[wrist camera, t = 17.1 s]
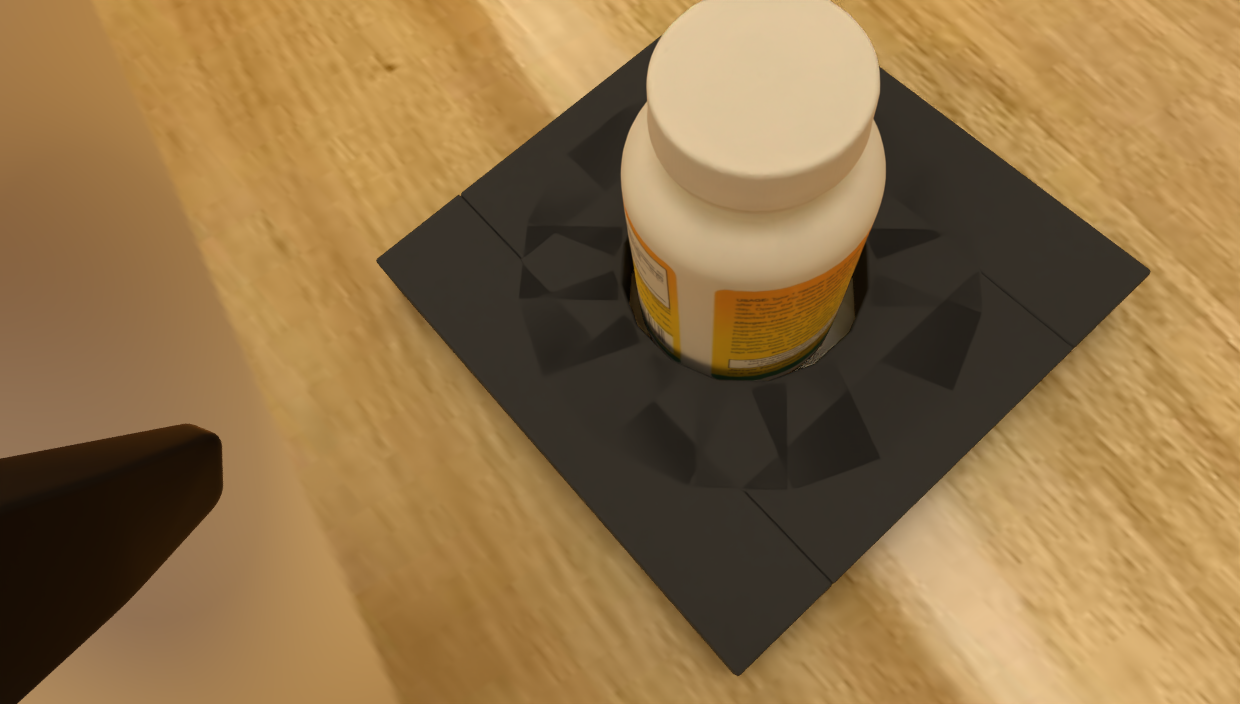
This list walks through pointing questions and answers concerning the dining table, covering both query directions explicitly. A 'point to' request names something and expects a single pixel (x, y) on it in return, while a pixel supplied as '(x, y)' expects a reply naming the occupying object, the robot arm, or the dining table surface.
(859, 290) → the socket pad
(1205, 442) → the dining table surface
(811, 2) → the supplement bottle
